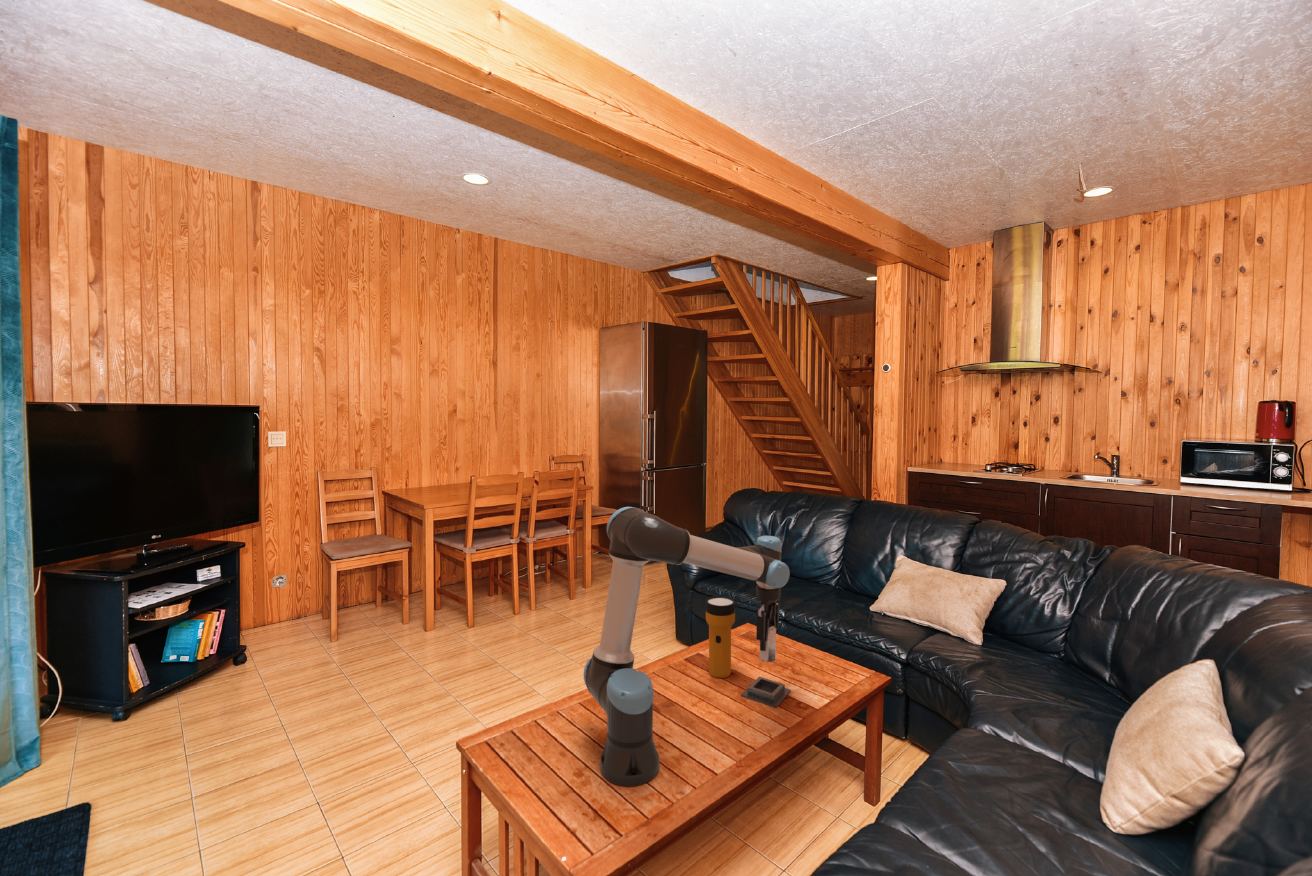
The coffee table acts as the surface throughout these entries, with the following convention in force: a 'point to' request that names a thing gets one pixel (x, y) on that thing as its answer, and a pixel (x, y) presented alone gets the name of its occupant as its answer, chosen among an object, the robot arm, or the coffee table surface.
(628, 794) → the coffee table surface
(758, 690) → the collar
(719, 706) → the coffee table surface
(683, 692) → the coffee table surface
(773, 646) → the piston
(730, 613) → the flashlight
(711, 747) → the coffee table surface
